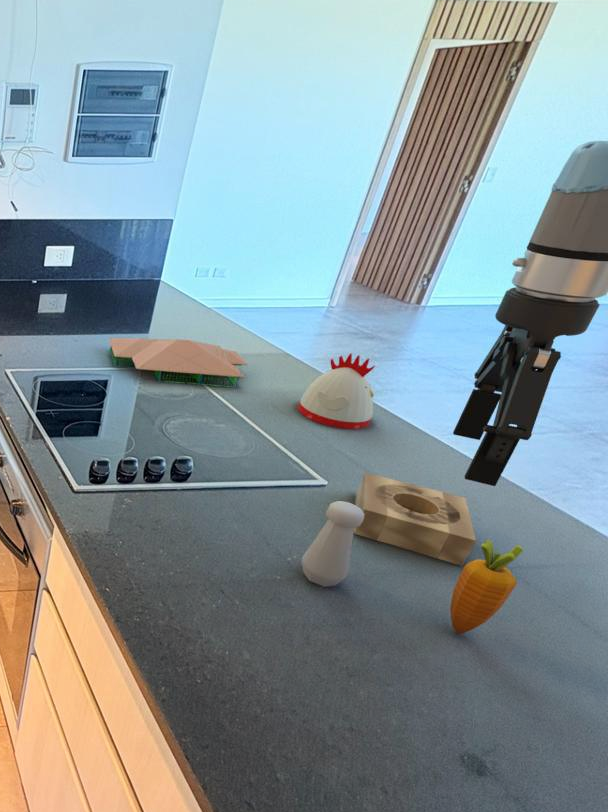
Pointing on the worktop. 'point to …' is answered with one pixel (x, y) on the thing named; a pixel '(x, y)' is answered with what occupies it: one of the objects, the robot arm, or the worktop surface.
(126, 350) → the house
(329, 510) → the salt shaker
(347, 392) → the kitchen timer
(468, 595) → the carrot
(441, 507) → the holder
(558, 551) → the worktop surface
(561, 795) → the worktop surface
